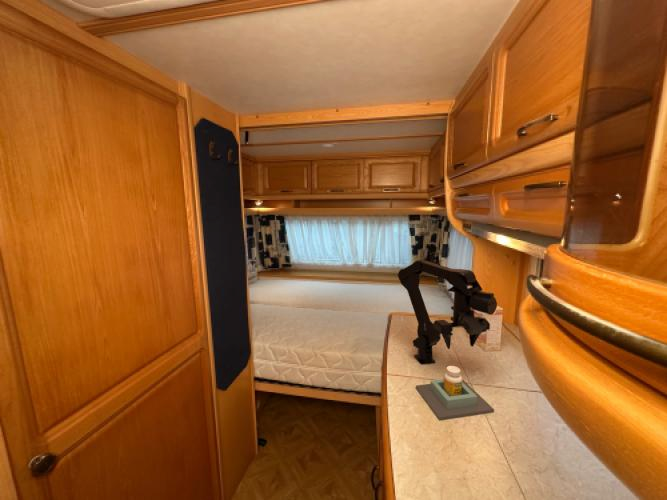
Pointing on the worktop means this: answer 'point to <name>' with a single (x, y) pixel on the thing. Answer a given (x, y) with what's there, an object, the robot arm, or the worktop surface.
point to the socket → (453, 401)
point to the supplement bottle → (453, 381)
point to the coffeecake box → (490, 330)
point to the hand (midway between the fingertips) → (460, 347)
